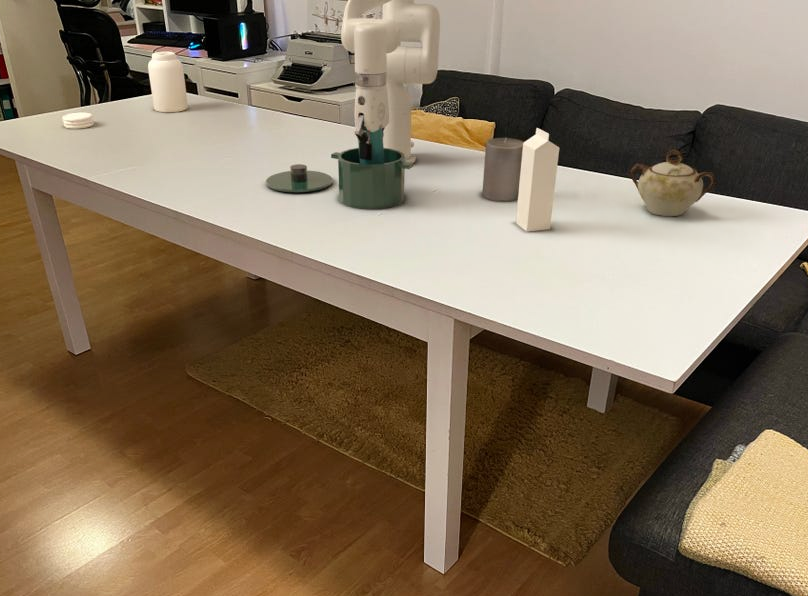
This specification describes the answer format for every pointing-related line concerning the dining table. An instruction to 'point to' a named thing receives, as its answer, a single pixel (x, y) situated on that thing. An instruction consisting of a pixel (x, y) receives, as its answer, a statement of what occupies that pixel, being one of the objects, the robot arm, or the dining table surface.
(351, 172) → the pot
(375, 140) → the beverage bottle
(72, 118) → the white flat round stack
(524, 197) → the milk
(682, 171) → the sugar bowl
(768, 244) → the dining table surface
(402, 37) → the robot arm
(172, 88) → the white jar
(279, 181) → the lid
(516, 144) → the pillar candle
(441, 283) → the dining table surface
